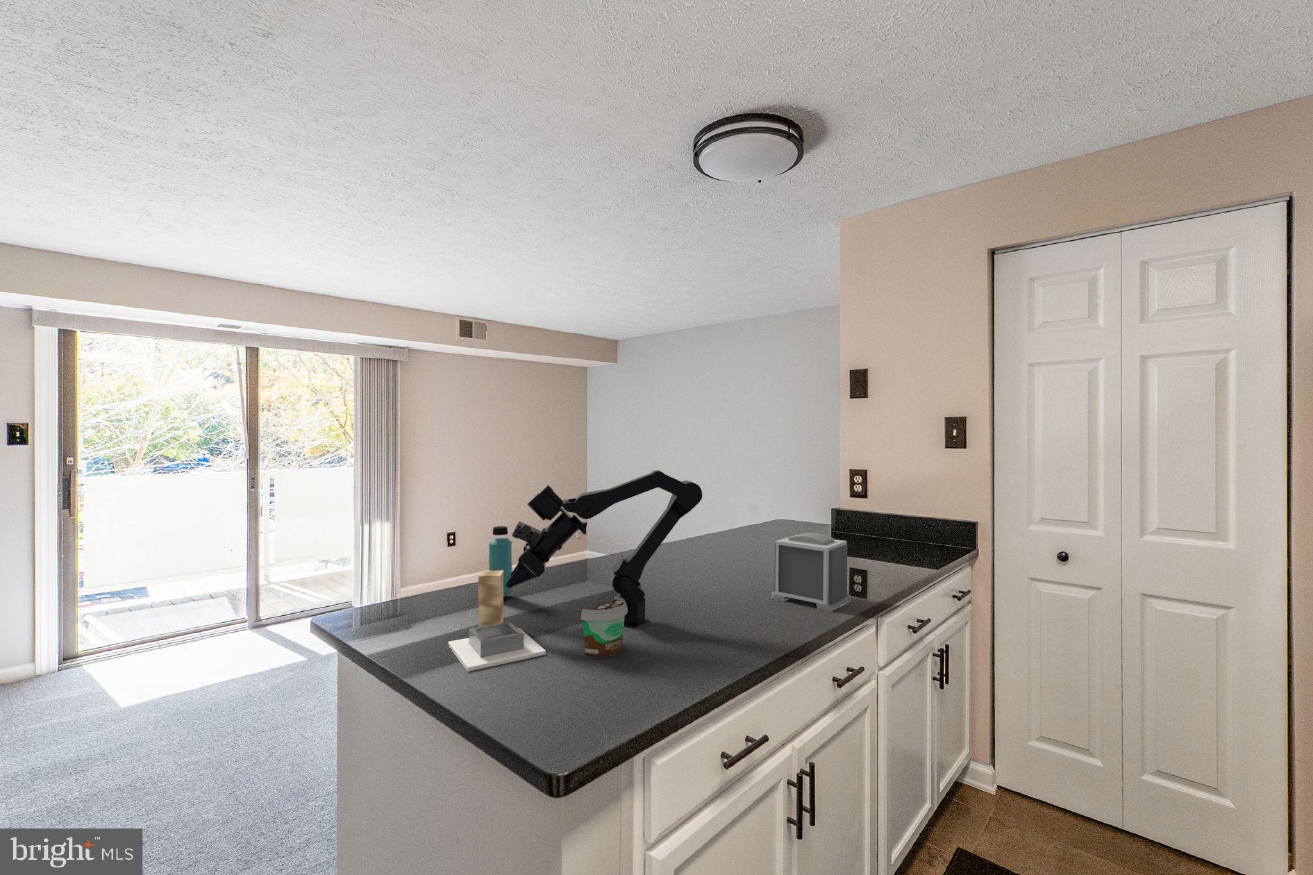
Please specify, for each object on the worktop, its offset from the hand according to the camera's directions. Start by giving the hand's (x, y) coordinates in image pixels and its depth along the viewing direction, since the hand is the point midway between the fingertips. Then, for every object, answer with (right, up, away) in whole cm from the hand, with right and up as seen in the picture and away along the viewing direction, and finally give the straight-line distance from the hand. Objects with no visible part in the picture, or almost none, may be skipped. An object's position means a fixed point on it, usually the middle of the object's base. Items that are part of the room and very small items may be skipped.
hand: (509, 581), depth 135 cm
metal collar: (+1, -11, -14) cm, 18 cm away
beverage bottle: (-9, -11, +24) cm, 28 cm away
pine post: (-4, -11, -1) cm, 12 cm away
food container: (+25, -11, -15) cm, 31 cm away
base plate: (+1, -11, -14) cm, 18 cm away
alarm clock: (+78, -11, +24) cm, 82 cm away
